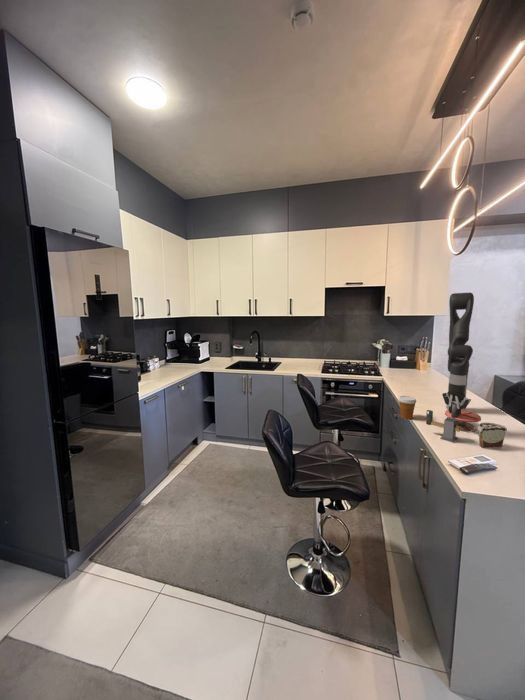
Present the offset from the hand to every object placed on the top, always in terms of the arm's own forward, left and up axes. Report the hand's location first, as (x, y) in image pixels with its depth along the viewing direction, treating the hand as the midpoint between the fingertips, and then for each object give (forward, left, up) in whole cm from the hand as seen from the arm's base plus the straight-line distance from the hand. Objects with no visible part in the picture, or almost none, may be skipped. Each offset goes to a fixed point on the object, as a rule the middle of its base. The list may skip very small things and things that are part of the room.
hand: (454, 414), depth 152 cm
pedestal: (-3, +7, -9) cm, 11 cm away
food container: (+18, +4, -9) cm, 20 cm away
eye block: (+10, -9, -9) cm, 16 cm away
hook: (+8, -12, -4) cm, 14 cm away
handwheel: (-3, +6, -7) cm, 10 cm away
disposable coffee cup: (-19, -15, -9) cm, 26 cm away
